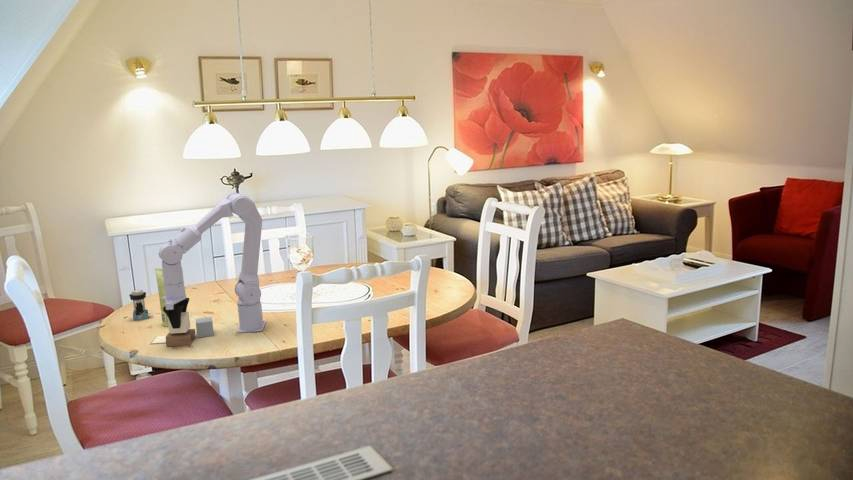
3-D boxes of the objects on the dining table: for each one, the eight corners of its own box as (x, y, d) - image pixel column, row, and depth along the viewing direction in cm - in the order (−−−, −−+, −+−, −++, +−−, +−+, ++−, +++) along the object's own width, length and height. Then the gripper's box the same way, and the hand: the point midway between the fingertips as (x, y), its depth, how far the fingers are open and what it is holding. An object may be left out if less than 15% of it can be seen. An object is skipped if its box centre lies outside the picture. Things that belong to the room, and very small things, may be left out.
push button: (154, 315, 235) (150, 287, 233) (152, 319, 230) (148, 291, 228) (133, 317, 233) (130, 290, 231) (131, 322, 228) (127, 294, 226)
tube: (179, 321, 227) (172, 265, 223) (181, 325, 223) (174, 268, 219) (161, 324, 225) (154, 268, 221) (163, 328, 220) (155, 271, 216)
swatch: (156, 337, 212) (156, 336, 212) (178, 335, 213) (178, 334, 213) (149, 345, 205) (149, 343, 205) (172, 343, 206) (172, 342, 206)
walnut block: (172, 337, 210) (172, 328, 209) (195, 338, 210) (195, 328, 210) (166, 346, 203) (165, 336, 202) (189, 346, 204) (189, 336, 203)
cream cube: (174, 328, 208) (172, 313, 207) (190, 327, 208) (188, 311, 207) (169, 333, 203) (167, 318, 202) (186, 332, 204) (184, 317, 202)
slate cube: (197, 333, 214) (195, 318, 213) (213, 331, 216) (211, 316, 215) (197, 338, 210) (195, 323, 209) (214, 336, 212) (212, 321, 210)
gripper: (167, 277, 209) (172, 318, 212) (152, 290, 195) (158, 333, 198) (190, 275, 210) (195, 316, 213) (177, 288, 196) (182, 332, 199)
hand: (179, 325), depth 205 cm, fingers closed on cream cube, 5 cm apart
